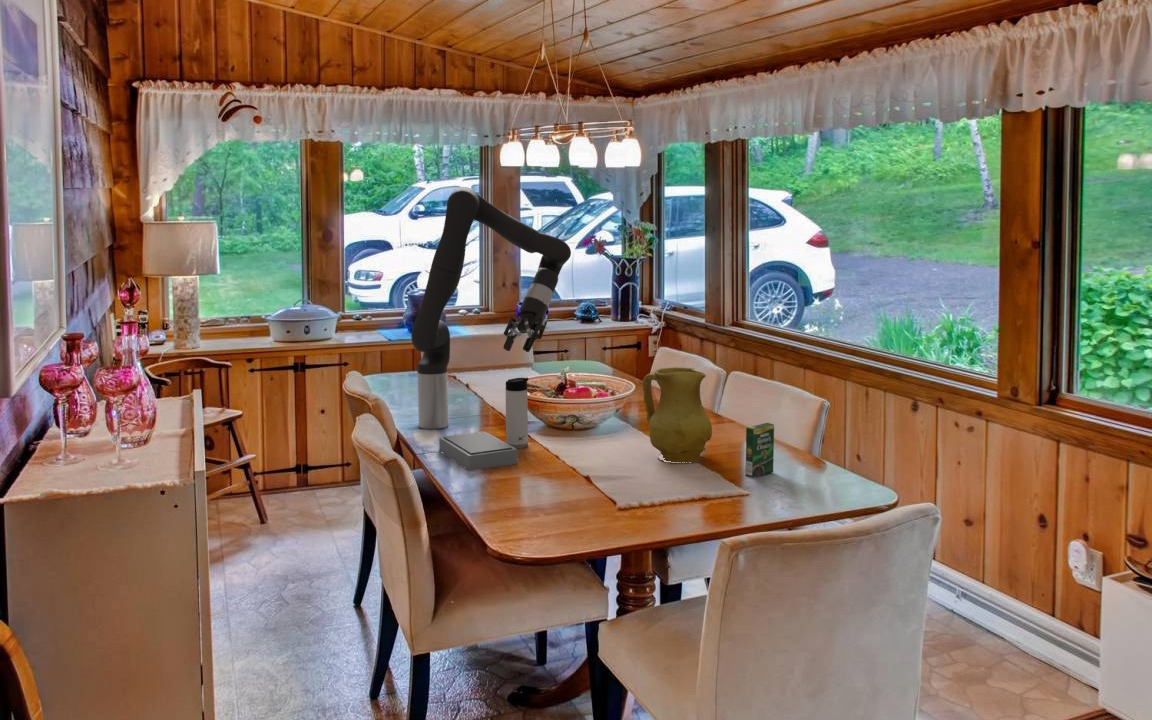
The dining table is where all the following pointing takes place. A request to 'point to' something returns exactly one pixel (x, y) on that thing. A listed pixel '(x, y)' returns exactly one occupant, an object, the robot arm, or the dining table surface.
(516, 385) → the travel mug
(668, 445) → the pitcher
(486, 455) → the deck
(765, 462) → the coffee box
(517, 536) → the dining table surface
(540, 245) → the robot arm
